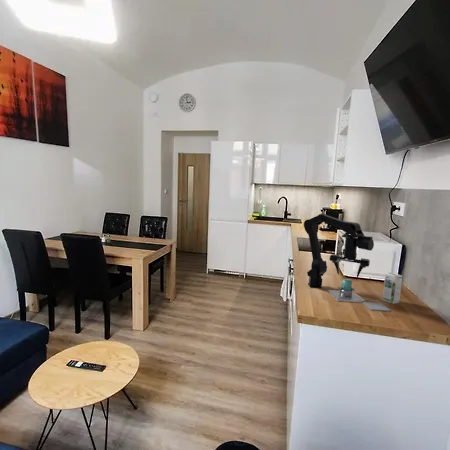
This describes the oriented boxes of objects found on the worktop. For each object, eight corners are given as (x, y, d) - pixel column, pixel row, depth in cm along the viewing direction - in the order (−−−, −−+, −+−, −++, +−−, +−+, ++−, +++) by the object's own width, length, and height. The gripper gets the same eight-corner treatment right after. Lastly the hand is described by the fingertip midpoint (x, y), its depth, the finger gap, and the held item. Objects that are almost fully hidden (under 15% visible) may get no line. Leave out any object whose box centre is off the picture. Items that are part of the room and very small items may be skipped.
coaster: (371, 310, 133) (371, 309, 133) (362, 302, 142) (362, 301, 142) (390, 311, 133) (390, 310, 133) (380, 303, 142) (380, 302, 142)
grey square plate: (337, 301, 143) (338, 291, 142) (327, 291, 157) (328, 283, 156) (365, 302, 143) (366, 293, 142) (353, 292, 156) (354, 284, 156)
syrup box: (381, 300, 148) (384, 273, 146) (389, 298, 150) (392, 272, 148) (391, 304, 142) (395, 276, 141) (399, 302, 145) (403, 275, 143)
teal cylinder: (343, 290, 147) (344, 280, 146) (339, 287, 152) (340, 277, 151) (352, 291, 147) (353, 280, 146) (348, 288, 152) (350, 278, 151)
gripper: (371, 247, 149) (368, 276, 151) (334, 242, 158) (331, 269, 160) (370, 250, 139) (366, 281, 141) (330, 245, 149) (327, 273, 151)
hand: (347, 276), depth 148 cm, fingers open, 9 cm apart
